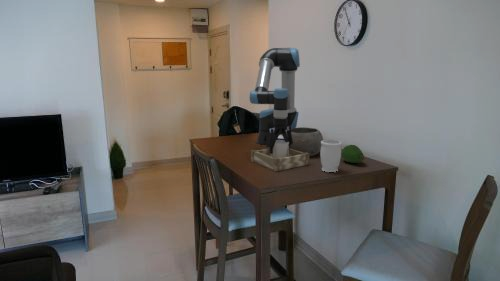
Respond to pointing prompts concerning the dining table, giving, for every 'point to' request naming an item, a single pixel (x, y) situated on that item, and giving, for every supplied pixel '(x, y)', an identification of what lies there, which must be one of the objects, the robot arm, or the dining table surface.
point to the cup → (280, 148)
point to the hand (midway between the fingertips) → (279, 157)
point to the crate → (280, 159)
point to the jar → (330, 155)
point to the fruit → (352, 154)
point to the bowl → (306, 140)
